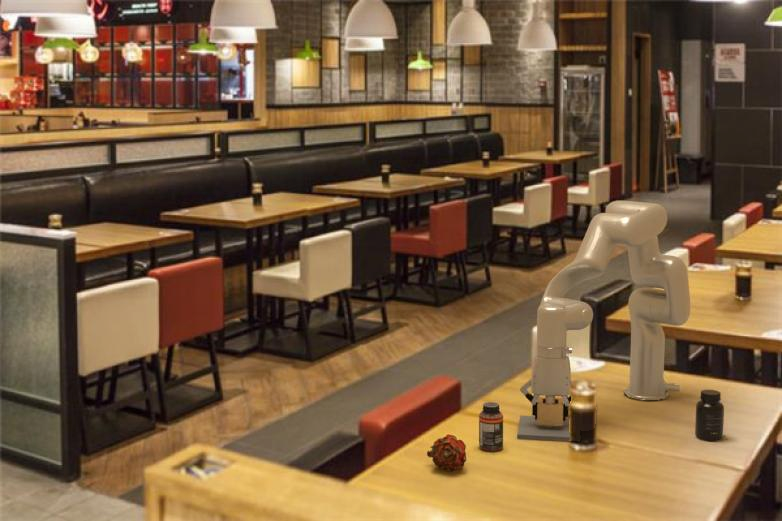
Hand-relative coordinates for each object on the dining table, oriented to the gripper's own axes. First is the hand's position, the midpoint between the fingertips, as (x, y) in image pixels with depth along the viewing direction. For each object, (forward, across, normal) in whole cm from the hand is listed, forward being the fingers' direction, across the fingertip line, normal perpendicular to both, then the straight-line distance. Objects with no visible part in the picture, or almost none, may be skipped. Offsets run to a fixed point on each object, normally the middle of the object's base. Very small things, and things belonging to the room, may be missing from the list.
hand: (550, 418), depth 262 cm
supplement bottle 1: (+3, +14, +16) cm, 22 cm away
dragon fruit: (+3, +23, +31) cm, 39 cm away
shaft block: (+3, 0, 0) cm, 3 cm away
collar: (+1, 0, 0) cm, 1 cm away
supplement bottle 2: (+4, -40, -1) cm, 40 cm away
